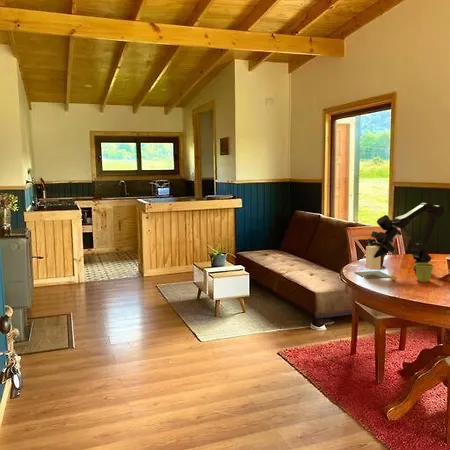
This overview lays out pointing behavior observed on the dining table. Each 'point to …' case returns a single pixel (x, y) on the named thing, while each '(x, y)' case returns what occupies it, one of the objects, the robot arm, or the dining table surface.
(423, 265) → the plant pot
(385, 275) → the mat
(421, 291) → the dining table surface
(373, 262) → the tall cream pillar
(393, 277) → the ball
